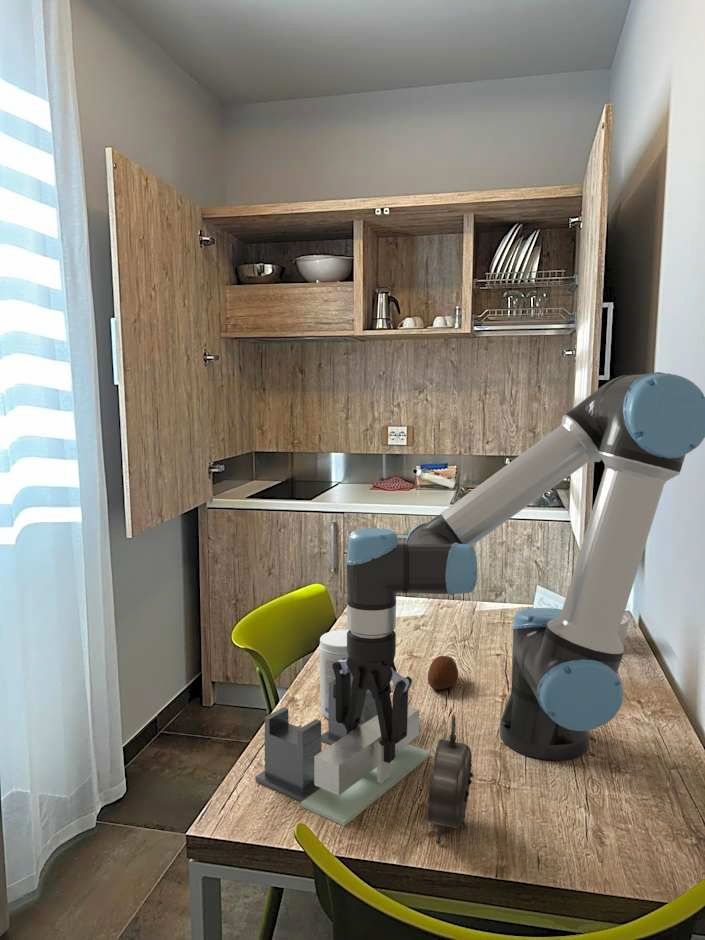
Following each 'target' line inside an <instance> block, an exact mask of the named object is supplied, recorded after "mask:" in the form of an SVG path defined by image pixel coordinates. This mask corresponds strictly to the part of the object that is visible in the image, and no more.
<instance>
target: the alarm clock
mask: <svg viewBox="0 0 705 940" xmlns="http://www.w3.org/2000/svg"><path fill="white" fill-rule="evenodd" d="M450 727H451V728H450V734H449V740H447V739H444V738H441V739H439V741H438V743H437V745H436V748H435V753H434V758H433V763H432V767H431V773H430V783H429V789H428V802H427V819H428V822H429V823H430V824H435V825H437V834H436V835H437V838H436V840H435V841H436V842H435V843H436V844H437V845H440V844H441V841H442V840H441V838H442V834H443V831H444V827H449V828H453V829H457V828H458V827H460V826H461V825H462V826H463V828H464V829H465V830H467V829H468V827H467V825H466V823H465V819H466V810H467V806H468V805H467V804H468V797H469V796H470V792H469V791H470V785H471V784H472V781H473V780H472V779H471V778H473V777H474V773H473V772H472V766H473V764H472V751H471V748H470V747H469V745H468V744H466V743H465V742H464V743H463V742H458V741H456V740H457V735H456V734H455V733H456V716H455V714H453V715H452V718H451V725H450Z"/></svg>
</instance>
